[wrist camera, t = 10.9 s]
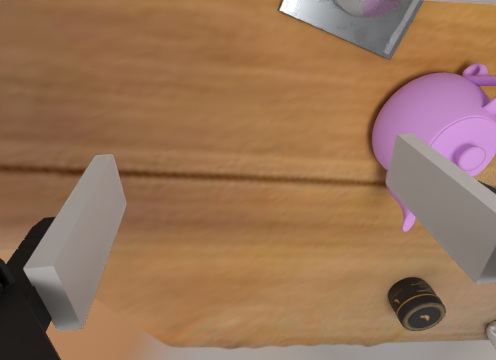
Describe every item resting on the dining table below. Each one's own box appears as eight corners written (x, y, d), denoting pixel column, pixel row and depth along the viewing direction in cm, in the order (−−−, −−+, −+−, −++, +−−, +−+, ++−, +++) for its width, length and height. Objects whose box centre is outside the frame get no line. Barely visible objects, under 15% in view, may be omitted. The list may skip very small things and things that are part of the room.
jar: (397, 273, 74) (415, 301, 67) (435, 276, 75) (456, 304, 69) (379, 302, 78) (394, 331, 72) (415, 305, 80) (433, 333, 74)
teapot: (425, 32, 47) (495, 46, 35) (504, 83, 52) (588, 111, 41) (330, 169, 58) (360, 215, 46) (404, 201, 63) (448, 250, 51)
